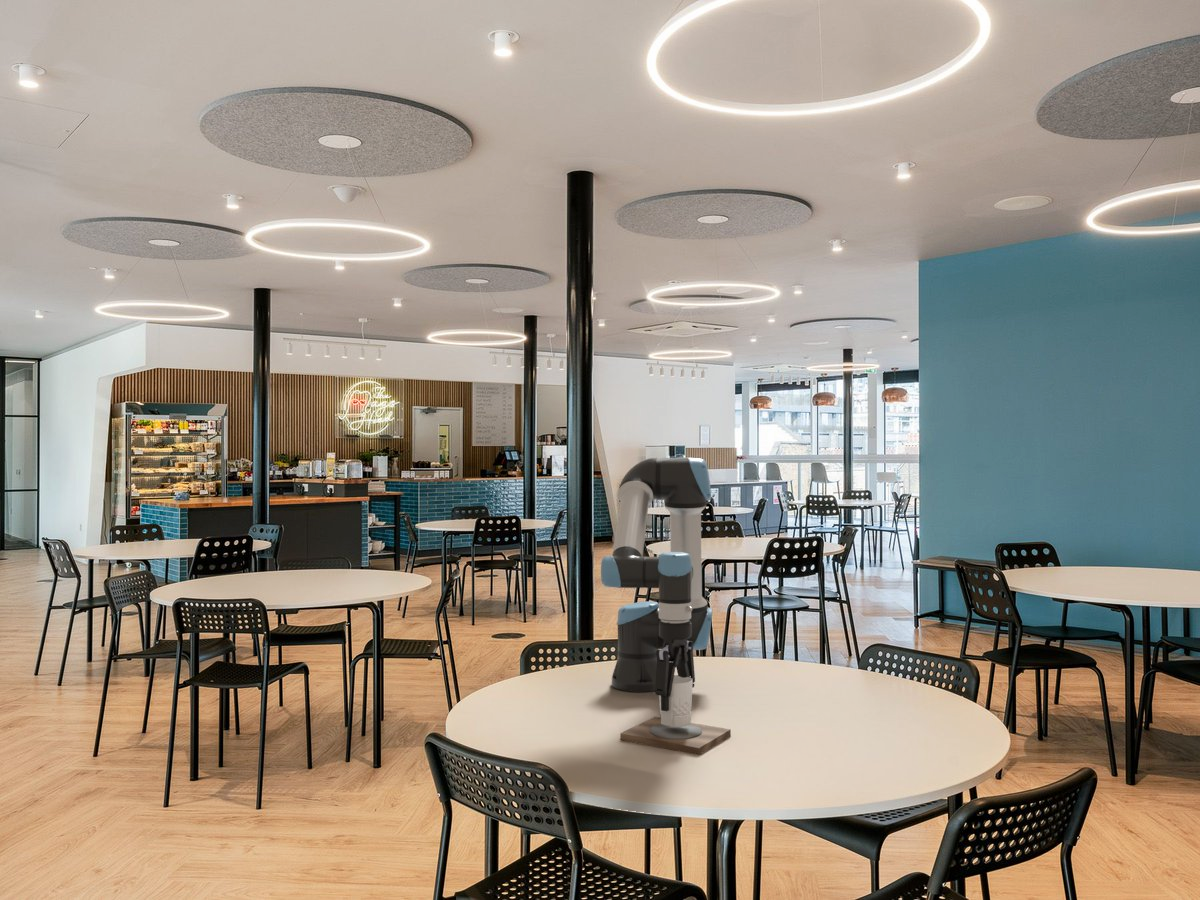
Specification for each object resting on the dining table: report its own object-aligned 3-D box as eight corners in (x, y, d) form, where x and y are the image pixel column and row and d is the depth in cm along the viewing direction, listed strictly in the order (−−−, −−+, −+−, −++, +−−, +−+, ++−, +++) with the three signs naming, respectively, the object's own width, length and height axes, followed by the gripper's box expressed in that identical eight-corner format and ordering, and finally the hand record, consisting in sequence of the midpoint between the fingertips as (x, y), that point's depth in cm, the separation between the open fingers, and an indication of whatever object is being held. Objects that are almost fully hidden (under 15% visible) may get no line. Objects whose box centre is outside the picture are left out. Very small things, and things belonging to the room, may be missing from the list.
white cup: (667, 716, 210) (667, 673, 210) (698, 721, 206) (698, 677, 206) (652, 724, 204) (652, 680, 204) (683, 729, 200) (683, 684, 200)
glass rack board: (655, 722, 217) (655, 715, 217) (730, 736, 206) (730, 728, 206) (620, 739, 204) (620, 731, 204) (699, 755, 193) (698, 746, 193)
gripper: (667, 628, 195) (668, 734, 194) (709, 615, 212) (710, 711, 211) (638, 625, 199) (638, 728, 198) (681, 612, 216) (682, 707, 215)
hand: (675, 719), depth 205 cm, fingers closed on white cup, 7 cm apart
